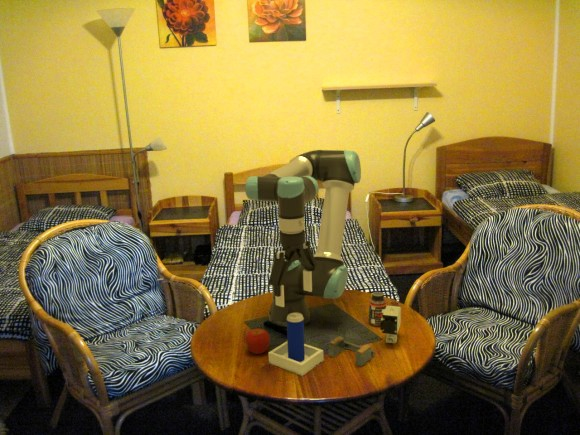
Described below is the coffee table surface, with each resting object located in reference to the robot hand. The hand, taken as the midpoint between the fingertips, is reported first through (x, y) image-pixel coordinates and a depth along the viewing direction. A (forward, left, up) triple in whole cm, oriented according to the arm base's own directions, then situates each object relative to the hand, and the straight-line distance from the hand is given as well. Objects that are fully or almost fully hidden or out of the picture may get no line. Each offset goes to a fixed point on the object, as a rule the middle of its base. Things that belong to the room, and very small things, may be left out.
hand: (294, 298), depth 165 cm
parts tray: (0, 0, -21) cm, 21 cm away
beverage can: (0, 0, -21) cm, 21 cm away
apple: (-14, -2, -22) cm, 26 cm away
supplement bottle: (+7, +38, -22) cm, 44 cm away
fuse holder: (+12, +12, -21) cm, 27 cm away
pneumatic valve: (+17, +29, -22) cm, 40 cm away
